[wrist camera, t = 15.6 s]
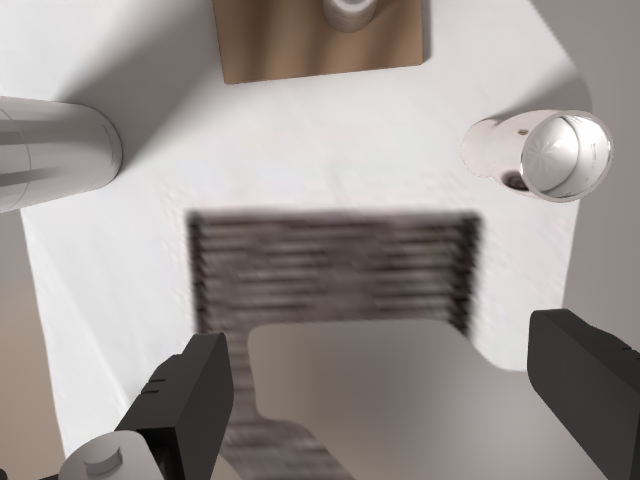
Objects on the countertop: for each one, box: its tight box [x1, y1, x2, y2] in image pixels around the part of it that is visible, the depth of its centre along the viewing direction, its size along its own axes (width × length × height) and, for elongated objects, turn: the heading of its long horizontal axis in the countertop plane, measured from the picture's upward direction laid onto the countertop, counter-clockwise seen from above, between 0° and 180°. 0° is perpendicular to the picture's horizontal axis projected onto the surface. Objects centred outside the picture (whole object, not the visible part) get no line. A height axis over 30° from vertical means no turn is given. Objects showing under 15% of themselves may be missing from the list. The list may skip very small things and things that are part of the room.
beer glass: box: [460, 109, 614, 203], centre depth 36 cm, size 7×7×15 cm
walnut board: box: [213, 0, 423, 84], centre depth 40 cm, size 20×12×1 cm, turn 95°
